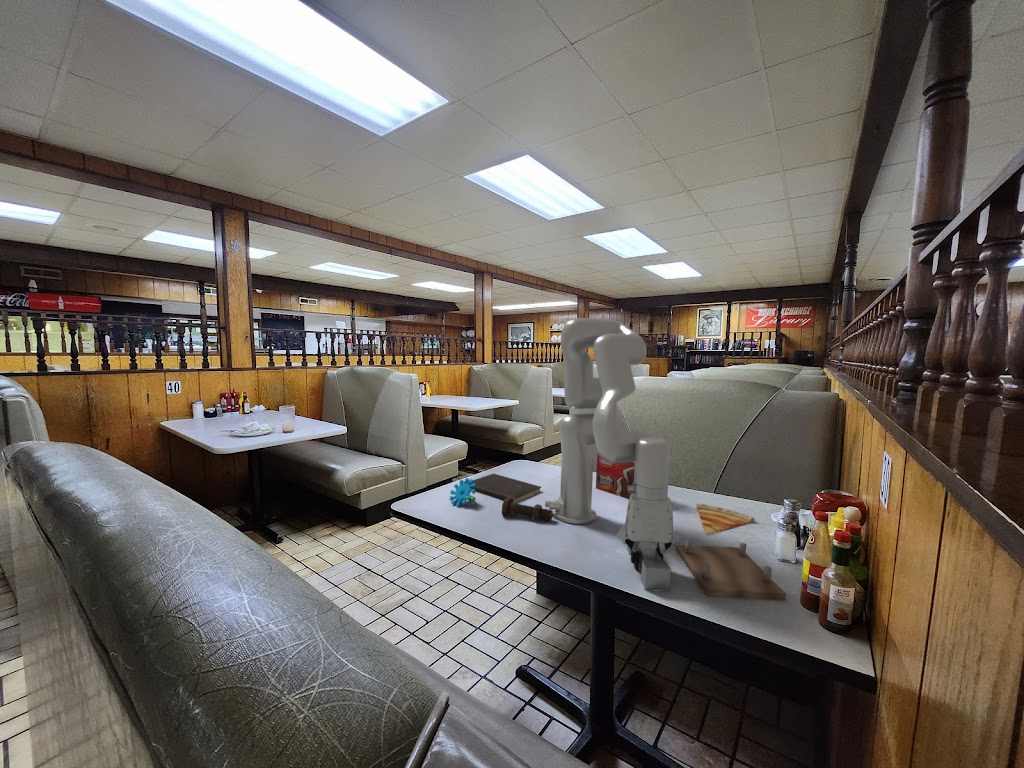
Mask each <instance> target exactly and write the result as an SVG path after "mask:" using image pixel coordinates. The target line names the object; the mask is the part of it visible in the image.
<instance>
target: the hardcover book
mask: <svg viewBox="0 0 1024 768" xmlns="http://www.w3.org/2000/svg"><path fill="white" fill-rule="evenodd" d="M472 480H473V481H474V483H475V484H476V487H475V488H474V487H471V489H475V490H476V492H475V493H479V494H481V495H485V496H488V497H491V498H493V499H496V500H500V501H503V502H504V499H505V498H511V501H512V503H518V502H520V501H522V500H524V499H526V498H529V497H531V496H533V495H536V494H539V493H541V488H542V486H540V485H536V484H532V483H529V482H526V481H521V480H520V479H519V480H518V479H514V478H510V477H507V476H503V475H500V474H497V473H489V474H488V475H485V476H481V477H478V478H476V479H472ZM467 483H468V482H467ZM472 484H473V483H472ZM470 485H471V484H470Z"/></svg>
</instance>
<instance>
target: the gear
mask: <svg viewBox="0 0 1024 768" xmlns="http://www.w3.org/2000/svg"><path fill="white" fill-rule="evenodd" d="M473 480H474V479H473V478H471V479H469V478H468V477H465V479H464V480H463V479H460V480H459V481H458V483H459V484H457V483H455V484H454V485H453V487H454V488H455V490H454V489H451V490H450V492H449V493H450V494H451V495H450V496H449V501H451V504H452V505H453V506H455V505H456V507H460V506H461V504H462V505H467V503H468V501H469V502H470V503H471V504H474V505H475V506H478V505H479V503H478V502H477V501H476V499H477V498H476V497H475V496H474V495H475V494H476V493H477V492H476V490H475V489H471V487H474V488H475V487H476V484H475V483H474V481H473ZM467 482H468V483H467ZM472 483H473V484H472ZM470 484H471V485H470ZM471 494H473V495H471ZM452 495H453V496H452Z"/></svg>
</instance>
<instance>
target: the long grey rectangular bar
mask: <svg viewBox="0 0 1024 768" xmlns="http://www.w3.org/2000/svg"><path fill="white" fill-rule="evenodd" d="M626 536H627V537H628V535H626ZM628 538H629V537H628ZM653 544H654V543H649V542H640V543H639V546H638V551H639V568H638V570H639V569H640V570H639V572H641V573H640V574H641V577H640V579H641V580H640V583H641V582H642V583H641V584H643V585H642V587H643V586H644V587H643V589H644V591H652V590H662V591H661V592H670V590H671V589H670V588H671V572H672V570H671V567H670V565H669V564H668V561H665V560H663V561H662V560H661V558H660V556H659V554H658V553H657V551H656V549H655V548H656V547H655V546H654V545H653ZM626 551H627V553H628V555H629V556H630V555H631V549H630V548H629V547H628V545H627V544H626Z"/></svg>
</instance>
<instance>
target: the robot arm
mask: <svg viewBox="0 0 1024 768" xmlns="http://www.w3.org/2000/svg"><path fill="white" fill-rule="evenodd" d="M560 333H561V334H560V347H561V353H562V356H563V361H564V363H563V364H564V377H563V379H564V384H563V385H564V388H563V389H564V401H565V402H564V403H565V404H566V406H567V407H568V408H570V409H573V410H588V409H594V412H584V413H582V412H581V413H572V414H567V415H566V416H564V417H563V418H562V419H561V420H560V422H559V425H558V426H559V427H558V431H559V439H560V446H561V447H560V448H561V449H560V450H561V463H560V467H561V468H560V469H561V470H560V491H559V492H560V494H559V495H560V497H558V499H555V501H553V500H552V501H551V500H544V502H545V503H544V506H545V508H549V509H548V510H552V511H553V510H554V516H555V518H557V520H560V521H562V522H564V523H565V522H566V523H567V524H576V525H577V524H578V525H583V524H584V525H586V524H589V523H592V522H594V521H595V520H596V519H597V512H596V511H595V510H594V509H593V508H592V498H593V478H594V477H593V476H594V475H593V474H594V473H593V472H594V460H593V457H592V454H591V452H590V451H589V449H588V446H592V445H595V446H596V449H597V450H596V451H597V453H599V455H600V457H601V458H602V459H603V460H604V461H605V462H607V463H611V464H613V463H624V462H635V470H634V481H633V484H632V485H628V486H627V490H628V491H631V492H633V493H632V494H631V495H630V498H629V499H628V503H627V508H626V515H625V523H624V524H623V525H622V526H621V528H620V529H619V530H618V532H617V533H616V535H617V538H618V539H619V540H620V541H622V542H623V543H625V545H626V546H627V545H628V547H629V548H630V549H631V556H630V563H631V564H633V566H634V569H635V570H639V551H638V546H639V543H640V542H649V543H652V544H656V546H655V547H654V548H655V549H656V551H657V553H658V554H659V556H660V558H661V560H662V561H664V554H666V551H667V550H668V549H670V548H672V547H671V546H673V545H676V544H677V543H678V542H680V537H679V536H678V534H677V533H676V531H675V530H674V513H673V504H672V503H673V502H672V499H671V498H670V496H668V491H669V474H670V456H671V445H670V442H669V441H668V440H666V439H664V438H661V437H655V436H653V435H652V434H650V433H648V432H647V431H644V430H623V431H617V406H618V405H617V404H618V402H620V401H622V400H623V399H625V398H627V397H629V396H631V395H632V394H633V393H634V392H635V391H636V389H637V388H636V383H635V379H634V378H635V377H634V374H633V371H632V366H639V365H640V364H643V362H644V361H645V360H646V357H647V354H648V353H647V352H648V351H647V346H646V345H647V344H646V342H645V340H644V339H643V337H642V336H641V335H640V334H638V333H637V332H636V331H635V330H633V329H631V328H630V327H628V326H627V325H626V324H624V323H623V322H621V321H619V320H615V319H607V318H604V319H603V318H592V317H590V318H589V317H580V318H573V319H570V320H568V321H566V323H564V325H563V327H562V329H561V332H560ZM586 349H593V354H594V360H595V365H596V369H597V370H596V371H597V374H598V377H594V362H593V360H592V357H591V356H590V354H589V352H588V351H587V350H586ZM627 536H628V537H629V538H628V537H627Z"/></svg>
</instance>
